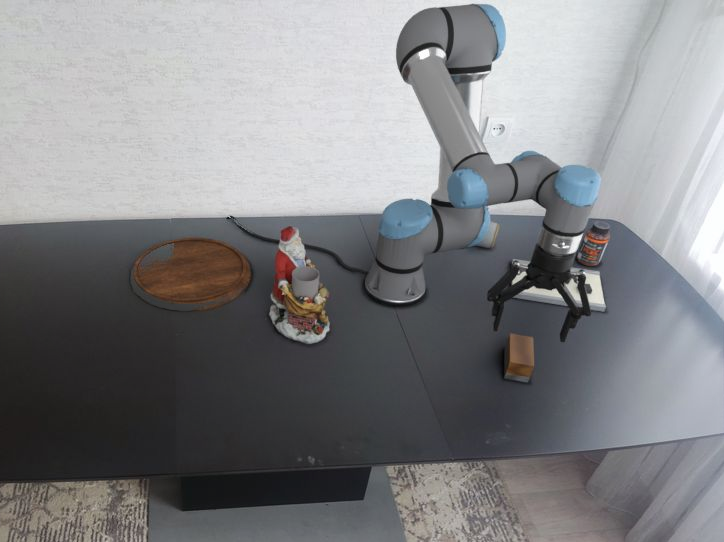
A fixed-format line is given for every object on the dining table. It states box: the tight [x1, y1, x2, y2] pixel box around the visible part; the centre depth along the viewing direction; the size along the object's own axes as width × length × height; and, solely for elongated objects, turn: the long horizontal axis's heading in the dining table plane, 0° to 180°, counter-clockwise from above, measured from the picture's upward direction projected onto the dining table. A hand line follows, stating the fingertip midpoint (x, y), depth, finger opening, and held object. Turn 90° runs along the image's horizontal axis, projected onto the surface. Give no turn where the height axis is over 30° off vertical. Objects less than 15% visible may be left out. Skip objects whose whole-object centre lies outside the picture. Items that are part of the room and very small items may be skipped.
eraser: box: [503, 333, 535, 384], centre depth 146 cm, size 5×10×5 cm, turn 164°
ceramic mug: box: [474, 220, 500, 249], centre depth 185 cm, size 11×8×8 cm
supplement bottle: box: [576, 220, 611, 267], centre depth 176 cm, size 6×6×11 cm
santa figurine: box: [268, 225, 331, 345], centre depth 151 cm, size 17×14×25 cm
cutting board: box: [133, 237, 252, 312], centre depth 174 cm, size 32×32×3 cm
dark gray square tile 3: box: [577, 284, 592, 294], centre depth 167 cm, size 3×3×1 cm
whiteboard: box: [510, 258, 607, 313], centre depth 170 cm, size 22×16×1 cm
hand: (528, 333), depth 141 cm, fingers open, 13 cm apart
